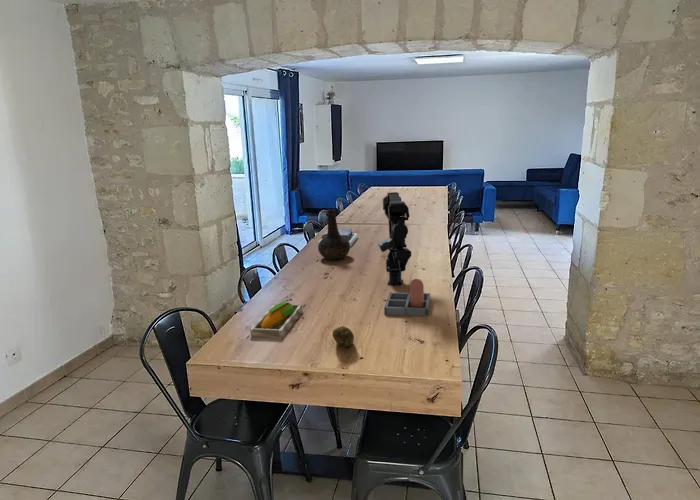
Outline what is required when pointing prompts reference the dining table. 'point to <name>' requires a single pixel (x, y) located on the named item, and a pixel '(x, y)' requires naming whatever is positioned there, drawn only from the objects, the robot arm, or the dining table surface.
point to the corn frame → (275, 333)
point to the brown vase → (333, 240)
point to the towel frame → (350, 240)
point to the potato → (343, 336)
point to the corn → (278, 315)
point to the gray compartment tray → (405, 305)
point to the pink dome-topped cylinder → (416, 294)
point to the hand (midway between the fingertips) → (399, 268)
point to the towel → (342, 233)
